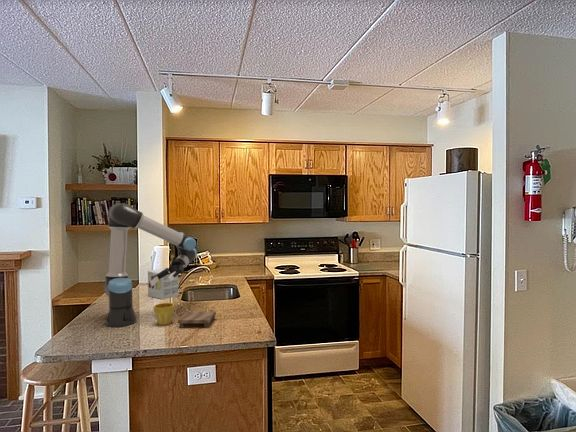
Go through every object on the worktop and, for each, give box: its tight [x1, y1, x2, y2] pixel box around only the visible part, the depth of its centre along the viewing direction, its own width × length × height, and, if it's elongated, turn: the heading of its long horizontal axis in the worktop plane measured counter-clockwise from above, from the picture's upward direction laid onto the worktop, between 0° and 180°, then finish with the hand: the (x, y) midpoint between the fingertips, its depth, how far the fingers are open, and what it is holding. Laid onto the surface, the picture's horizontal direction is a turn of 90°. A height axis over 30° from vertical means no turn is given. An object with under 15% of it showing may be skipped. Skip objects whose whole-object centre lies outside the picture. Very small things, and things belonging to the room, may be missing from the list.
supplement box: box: [147, 267, 179, 301], centre depth 266 cm, size 17×13×18 cm
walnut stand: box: [177, 310, 217, 328], centre depth 204 cm, size 16×16×4 cm
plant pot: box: [153, 302, 175, 326], centre depth 204 cm, size 10×10×10 cm
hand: (160, 282), depth 212 cm, fingers open, 13 cm apart
